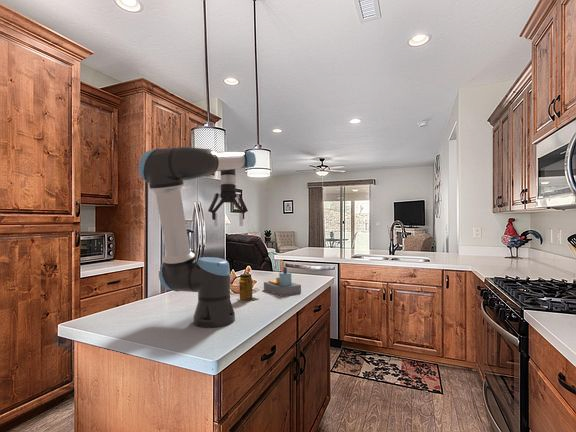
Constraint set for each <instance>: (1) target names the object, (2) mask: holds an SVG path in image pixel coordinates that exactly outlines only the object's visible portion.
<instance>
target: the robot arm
mask: <svg viewBox="0 0 576 432" xmlns="http://www.w3.org/2000/svg"><path fill="white" fill-rule="evenodd" d="M256 159H257V158H256V154H255V152H254V151H252V150H244V151H243V150H242V151H214V150H213V149H211V148H199V147H191V146H178V147H176V146H174V147H166V148H154V149H150V150H149V149H148V150H147V151H145V152H144V153H143V154H142V155H141V157H140V158H139V161H138V173H139V176H140V177H141V179H142V180H143V181H144V182H146V183H147V184H148V185H149V189H150V190H152V191H153V192H154V193H155V198H156V199H155V200H156V204H157V210H158V215H159V220H160V226H161V231H162V236H163V242H164V248H165V254H166V255H165V257H164V258H163V261H162V263H161V265H160V266H159V271H158V280H159V282H160V284H161V286H162V287H164V288H165V289H166V290H167V291H174V292H188V293H190V292H191V293H197V304H196V307H195V311H194V313H193V320H192V321H193V322H192V323H193V324H194V326H196V327H199V328H200V327H201V328H217V327H224V326H227V325H230V324H233V323H234V322H235V319H236V314H235V310H234V307H233V305H232V301H231V269H230V263H229V261H227V259H225V258H221V257H214V256H213V257H212V256H211V257H209V256H205V257H199V258H198V259H197V260H196V254H195V252H193V251H191V249H190V243H189V242H190V241H189V236H188V230H187V224H186V223H187V222H186V218H185V212H184V206H183V199H182V198H183V197H182V193H181V192H182V191H181V189H182V188H183V186H184V182H185V181H190V180H194V179H198V178H202V177H207V176H211V175H213V174H215V173H216V172H220V193H218V192H216V193H214V195H213V196H214V197H213V199H212V202H211V204H210V206H209V208H208V210H207V212H208V213H211V220H213V226H214V227H215V228H216V227H218V213H216V212H217V211H218V210H219V209H220V208H221V206H222V205H223V204H224V203H225V204H226V203H232V204H233V205H234V206H235V207H236V208H237V210H238V211H239V212H240V213H239V214H238V217H239V218H238V219H239V220H238V222H239V227H243V226H244V220H245V213H246V212H247V213H248V208H247V206H246V204H245V201H244V200H243V196H242V194H241V193H238V194H237V193H236V190H237V186H236V180H237V179H236V177H237V176H236V175H237V174H236V169H246V168H247V169H249V168H254V167H255V165H256V161H257V160H256ZM219 198H220V200H219V202H218V203H217V201H218V199H219ZM236 198H237V199H238V200H237V199H236ZM238 201H239V202H238ZM216 203H217V205H216Z"/></svg>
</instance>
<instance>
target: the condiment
mask: <svg viewBox="0 0 576 432" xmlns="http://www.w3.org/2000/svg"><path fill="white" fill-rule="evenodd" d="M236 300H237V301H240V302H243V303H247V302H252V301H255V300H256V301H257V300H259V298H257V297H255V296H253V280H252V274H251V273H240V276H239V298H236Z"/></svg>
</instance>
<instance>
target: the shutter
mask: <svg viewBox="0 0 576 432" xmlns="http://www.w3.org/2000/svg"><path fill="white" fill-rule="evenodd" d="M268 282H271V283H274V284H279V276H277V277H275V279H272V280H271V279H270V280H268Z"/></svg>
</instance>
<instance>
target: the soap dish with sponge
mask: <svg viewBox="0 0 576 432" xmlns="http://www.w3.org/2000/svg"><path fill="white" fill-rule="evenodd" d="M263 291H267V292H269V293H272V294H274V295H277V296H280V297H283V296H291V295H295V294H301V293H302V284H298V283H295V282H293V281H291V286H281V285H279V284H274V283H271V282H269V281H263Z"/></svg>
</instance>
